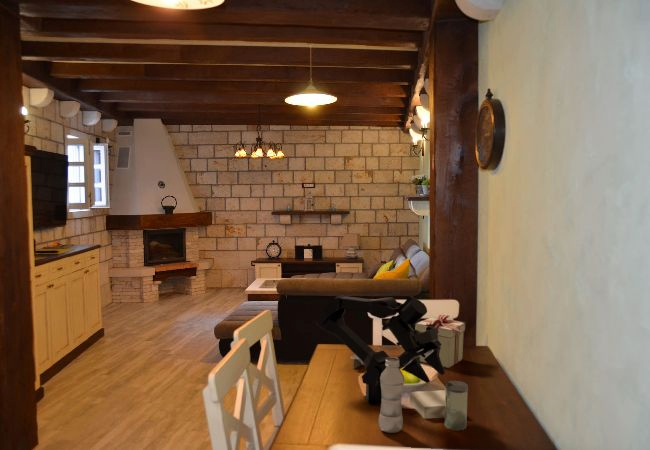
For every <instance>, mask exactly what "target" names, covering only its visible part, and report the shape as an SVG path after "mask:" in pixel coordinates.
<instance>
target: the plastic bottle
mask: <svg viewBox="0 0 650 450" xmlns="http://www.w3.org/2000/svg"><path fill="white" fill-rule="evenodd" d="M389 357H390V358H386V363H385V366H386V368H385V370H384V371H383V372H382V374H381V377H380V383H381V396H382V402H381V404H380V413H379V416H378V427H379V429H380V430H381V431H382V432H383V433H389V434H394V433H398V432H400V431H402V428H403V423H404V419H403V411H402V398H403V389H404V385H405V384H404V383H405V377H404V374H403V372H402V371H401V370H400V369H399V367H400V364H399V359H398V357H392V356H389Z"/></svg>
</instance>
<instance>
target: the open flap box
mask: <svg viewBox="0 0 650 450" xmlns="http://www.w3.org/2000/svg"><path fill="white" fill-rule="evenodd" d="M350 359H351V360H353V370H355V369H357V368H358V367H360V366H364V363H363V361H362V360H361V359H360V358H359V357H358V356H357V355H355V354H353V355H352V356H351V355H350Z"/></svg>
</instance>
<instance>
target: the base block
mask: <svg viewBox="0 0 650 450" xmlns="http://www.w3.org/2000/svg"><path fill="white" fill-rule="evenodd" d="M445 394H446V389H443V390H440V389H439V390H424V391H423V390H422V391H410V393H409V395H410V396H409V397H410V398H409V404H410V403H411V404H412V405H413V406H414V407H415V408H414V407H413V406H412V405H411V404H410V405H411V406H412V407H413V408H414V409H415V411H417V412H418V414H419V415H420V416H421V417H422V419H424V420H427V419H440V418H442V419H445Z"/></svg>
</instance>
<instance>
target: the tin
mask: <svg viewBox="0 0 650 450" xmlns="http://www.w3.org/2000/svg"><path fill="white" fill-rule="evenodd" d="M445 390H446V394H445V417H444V427H445V428H446V429H447V430H450V429H451V431H455V432H460V430H462V431H465V430H466V429H467V422H468V421H467V417H468V391H469V385H468V384H467V383H466V382H464V381H461V380H448V381H447V382H445ZM464 429H465V430H464Z"/></svg>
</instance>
